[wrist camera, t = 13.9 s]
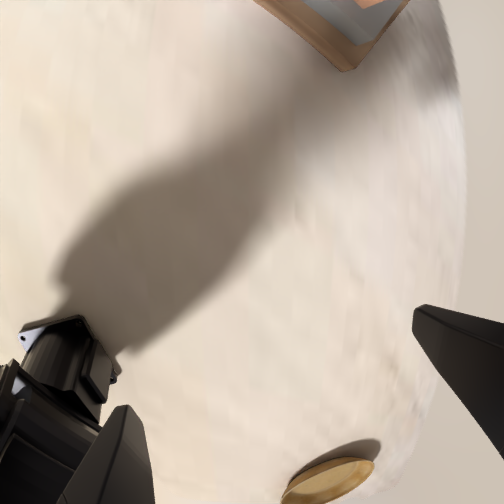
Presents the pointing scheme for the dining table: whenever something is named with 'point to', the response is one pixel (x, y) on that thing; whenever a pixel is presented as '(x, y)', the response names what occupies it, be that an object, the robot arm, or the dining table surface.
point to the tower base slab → (323, 31)
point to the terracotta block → (367, 3)
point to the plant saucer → (327, 481)
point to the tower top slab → (355, 17)
